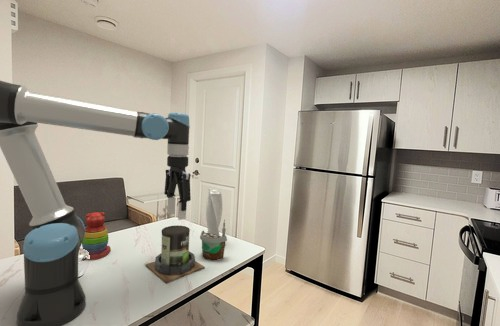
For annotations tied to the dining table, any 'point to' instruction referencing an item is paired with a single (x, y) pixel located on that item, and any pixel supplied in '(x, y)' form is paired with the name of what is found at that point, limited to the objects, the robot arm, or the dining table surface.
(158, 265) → the collar
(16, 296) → the dining table surface
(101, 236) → the stacking bear
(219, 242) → the food container
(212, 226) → the skyscraper
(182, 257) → the coffee can
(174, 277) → the board
